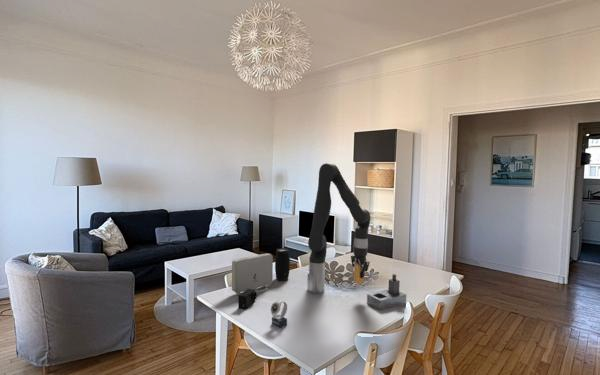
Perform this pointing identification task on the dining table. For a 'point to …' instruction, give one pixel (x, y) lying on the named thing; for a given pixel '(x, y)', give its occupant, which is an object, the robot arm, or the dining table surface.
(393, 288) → the twin plug
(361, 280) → the orange plug
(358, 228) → the robot arm
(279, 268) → the portable speaker
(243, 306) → the digital camera
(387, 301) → the grey stone block holder
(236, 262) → the network device
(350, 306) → the dining table surface
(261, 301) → the dining table surface
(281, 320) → the watch
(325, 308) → the dining table surface
